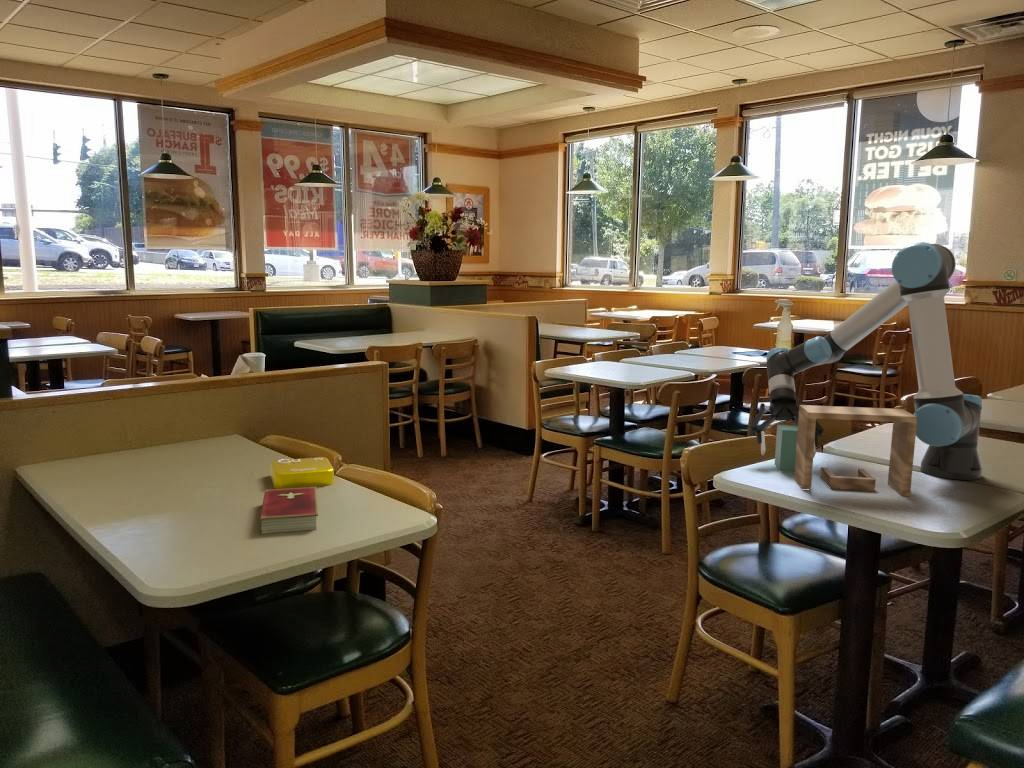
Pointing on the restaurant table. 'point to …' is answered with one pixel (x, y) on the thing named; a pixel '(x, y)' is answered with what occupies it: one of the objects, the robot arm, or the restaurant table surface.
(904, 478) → the wooden arch
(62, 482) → the restaurant table surface
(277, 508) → the hardcover book
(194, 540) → the restaurant table surface
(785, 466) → the green rectangular block
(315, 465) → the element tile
